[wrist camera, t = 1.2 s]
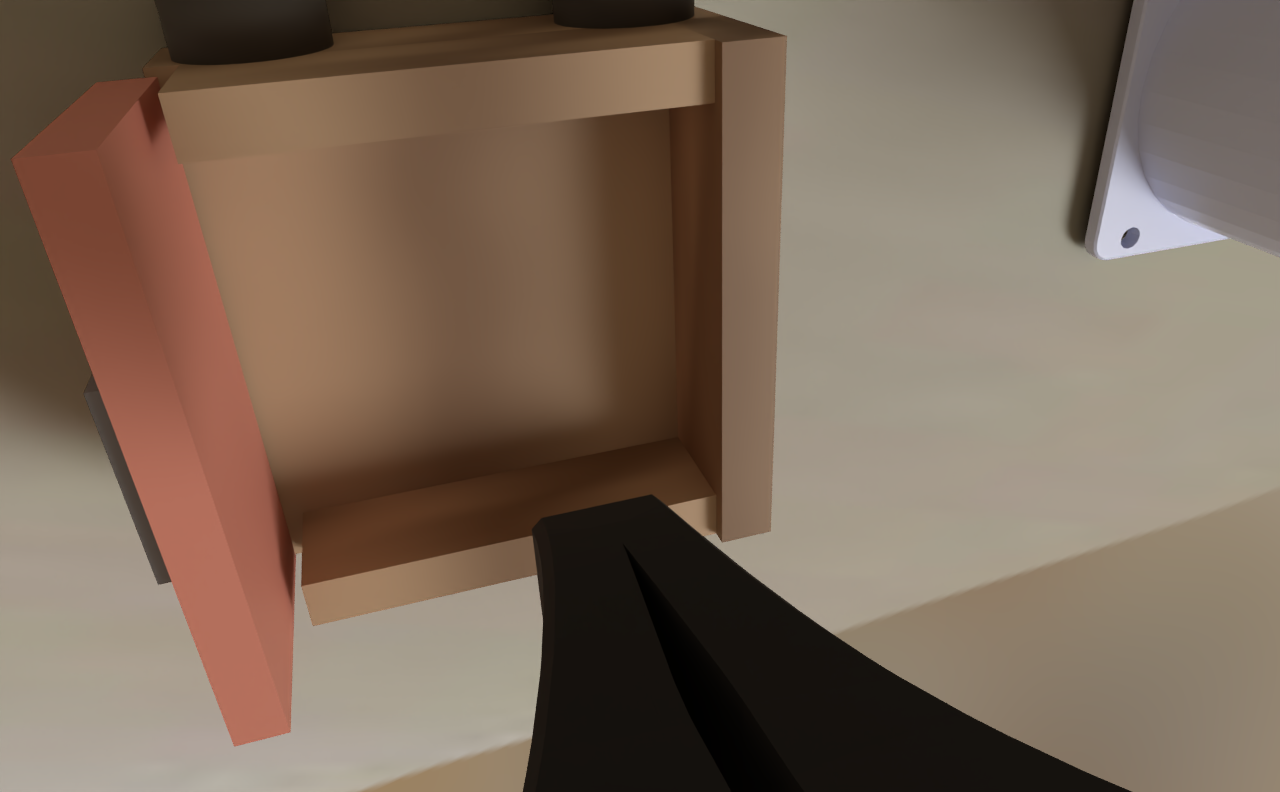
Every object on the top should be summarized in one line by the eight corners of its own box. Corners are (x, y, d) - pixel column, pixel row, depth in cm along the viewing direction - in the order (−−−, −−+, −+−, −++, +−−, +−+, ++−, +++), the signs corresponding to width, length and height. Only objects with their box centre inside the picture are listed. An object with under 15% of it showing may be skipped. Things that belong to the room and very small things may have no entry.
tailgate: (156, 76, 13) (96, 149, 10) (295, 555, 18) (290, 731, 14) (73, 84, 13) (-22, 162, 9) (235, 568, 17) (212, 752, 14)
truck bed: (682, -58, 17) (789, -40, 13) (691, 454, 22) (769, 571, 18) (142, -19, 15) (81, 14, 11) (299, 536, 20) (295, 686, 16)
